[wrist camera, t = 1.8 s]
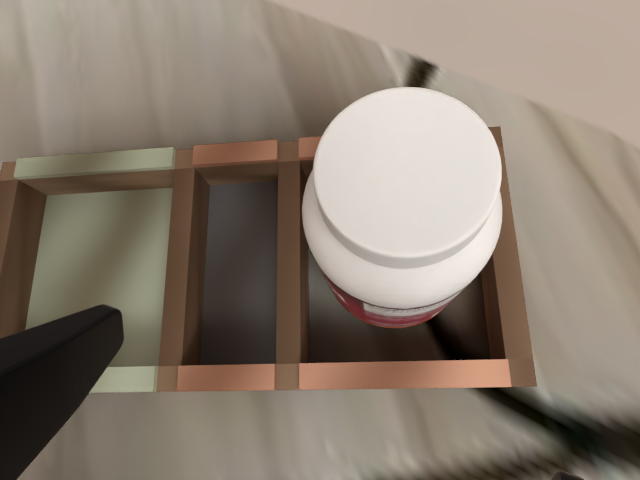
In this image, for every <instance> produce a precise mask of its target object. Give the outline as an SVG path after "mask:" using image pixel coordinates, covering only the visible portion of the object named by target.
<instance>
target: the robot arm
mask: <svg viewBox="0 0 640 480" xmlns="http://www.w3.org/2000/svg"><path fill="white" fill-rule="evenodd" d="M123 341H124V330H123V320H122V313H121V311H120V310H119V309H117V308H114V307H111V306H109V305H106V304H100V305H97V306H94V307H91V308H88V309H85V310H82V311H79V312H76V313H73V314H70V315H67V316H64V317H62V318H59V319H56V320H53V321H50V322H47V323H44V324H41V325H38V326H35V327H32V328H29V329H26V330H23V331H20V332H17V333H15V334H12V335H9V336H6V337H3V338H0V480H17V478H18V477H19V476H20V475H21V474H22V473H23V471H24V470H25V469H26V468H27V467H28V466H29V464H30V463H31V462H32V461H33V460H34V459H35V458H36V456H37V455H38V454H39V453H40V452H41V451H42V449H43V448H44V447H45V446H46V445H47V444H48V442H49V441H50V440H51V439H52V438H53V437H54V436H55V434H56V433H57V432H58V431H59V430H60V429H61V427H62V426H63V425H64V424H65V423H66V422H67V420H68V419H69V418H70V417H71V416H72V415H73V413H74V412H75V411H76V410H77V409H78V407H79V406H80V405H81V403H82V402H83V401H84V399H85V398H86V397H87V395H88V394H89V392H90V391H91V390H92V388H93V387H94V385H95V384H96V382H97V381H98V380H99V378H100V377H101V375H102V374H103V373H104V371H105V370H106V368H107V367H108V365H109V364H110V363H111V361H112V360H113V358H114V357H115V356H116V354H117V353H118V351H119V350H120V348H121V346H122V344H123ZM552 480H584V479H582V478H581V477H578V476H575V475H573V474H570V473H567V472H564V471H559V472H557V473H556V474H555V475H554V477H553V478H552Z"/></svg>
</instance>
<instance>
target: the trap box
mask: <svg viewBox="0 0 640 480" xmlns="http://www.w3.org/2000/svg"><path fill="white" fill-rule="evenodd" d="M488 128H489V130H490V131H491V133H492V135H493V137H494V139H495V141H496V144H497V147H498V150H499V153H500V157H501V165H502V179H501V187H500V193H501V199H502V225H501V230H500V235H499V238H498V241H497V244H496V247H495V249H494V251H493V253H492V255H491V257H490V259H489V260H488V262H487V263H486V265H485V266H484V267H483V269H482V270H481V271H480V273H481V281H482V290H483V299H484V307H485V316H486V324H487V333H488V342H489V350H490V359H491V360H443V361H392V362H342V363H309V294H308V242H307V239H306V236H305V232H304V227H303V219H302V203H303V196H304V191H305V187H306V183H307V181H308V178H309V176H310V174H311V172H312V170H313V162H314V157H315V153H316V150H317V147H318V144H319V141H320V139H321V137H322V136H317V137H303V138H299V141H292V142H279V143H278V140H277V139H275V140H262V141H248V142H234V143H221V144H207V145H194V146H193V149H182V150H175V148H174V147H166V148H152V149H138V150H125V151H111V152H97V153H84V154H70V155H56V156H43V157H29V158H17V161H15V162H3V165H2V170H1V175H0V338H3V337H6V336H9V335H12V334H15V333H17V332H20V331H23V330H26V329H29V328H32V327H35V326H38V325H41V324H44V323H47V322H50V321H53V320H56V319H59V318H62V317H64V316H67V315H70V314H73V313H76V312H79V311H82V310H85V309H88V308H91V307H94V306H97V305H100V304H106V305H109V306H111V307H114V308H117V309H119V310H120V311H121V313H122V320H123V330H124V341H123V344H122V346H121V348H120V350H119V351H118V353H117V354H116V356H115V357H114V358H113V360H112V361H111V363H110V364H109V365H108V367H107V368H106V370H105V371H104V373H103V374H102V375H101V377H100V378H99V380H98V381H97V382H96V384H95V385H94V387H93V388H92V390H91V391H90V392H89V393H100V392H160V391H247V390H320V389H393V388H467V387H526V386H537V384H536V376H535V369H534V362H533V355H532V348H531V341H530V334H529V327H528V320H527V313H526V306H525V299H524V292H523V285H522V278H521V270H520V263H519V256H518V249H517V242H516V235H515V228H514V221H513V214H512V207H511V200H510V193H509V186H508V179H507V172H506V165H505V157H504V150H503V143H502V136H501V129H500V127H488Z"/></svg>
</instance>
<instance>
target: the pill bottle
mask: <svg viewBox="0 0 640 480" xmlns="http://www.w3.org/2000/svg"><path fill="white" fill-rule="evenodd" d="M501 179H502V165H501V157H500V153H499V150H498V147H497V144H496V141H495V139H494V137H493V135H492V133H491V131H490V130H489V128H488V127H487V126H486V124H485V123H484V121H483V120H482V119H481V118H480V117H479V116H478V115H477V114H476V113H475V112H474V111H473V110H472V109H470V108H469V107H468V106H466V105H465V104H464V103H462V102H460V101H459V100H457V99H455V98H453V97H451V96H449V95H446V94H444V93H441V92H438V91H435V90H431V89H425V88H417V87H398V88H390V89H385V90H381V91H377V92H374V93H371V94H369V95H367V96H364V97H362V98H360V99H358V100H356V101H355V102H353V103H352V104H350V105H349V106H347V107H346V108H345V109H343V110H342V111H341V112H340V113H339V114H338V115H337V116H336V117H335V118H334V119H333V120H332V122H331V123H330V124H329V125H328V127H327V128H326V130H325V132H324V134H323V135H322V137H321V139H320V141H319V144H318V147H317V150H316V153H315V157H314V162H313V170H312V172H311V174H310V176H309V178H308V181H307V183H306V187H305V191H304V196H303V203H302V219H303V227H304V232H305V236H306V239H307V242H308V245H309V247H310V250H311V252H312V254H313V256H314V258H315V260H316V262H317V264H318V265H319V267H320V269H321V271H322V273H323V275H324V277H325V278H326V280H327V282H328V283H329V285H330V287H331V289H332V291H333V292H334V294H335V296H336V298H337V299H338V300H339V302H340V303H341V304H342V305H343V306H344V307H345V308H346V309H347V310H348V311H349V312H350V313H352V314H353V315H354V316H356V317H357V318H359V319H361V320H362V321H364V322H367V323H369V324H372V325H375V326H379V327H384V328H405V327H410V326H414V325H418V324H421V323H423V322H425V321H427V320H429V319H431V318H432V317H434V316H435V315H437V314H438V313H439V312H440V311H441V310H443V309H444V308H445V307H446V306H447V305H448V304H449V303H450V302H451V301H452V300H453V299H454V298H455V297H456V296H457V295H458V294H459V293H460V292H461V291H462V290H463V289H464V288H465V287H466V286H467V285H468V284H470V283H471V282H472V281H473V280H474V279H475V278H476V277H477V275H478V274H479V273H480V271H481V270H482V269H483V267H484V266H485V265H486V263H487V262H488V260H489V259H490V257H491V255H492V253H493V251H494V249H495V247H496V244H497V241H498V238H499V235H500V230H501V225H502V199H501V193H500V187H501Z"/></svg>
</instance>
